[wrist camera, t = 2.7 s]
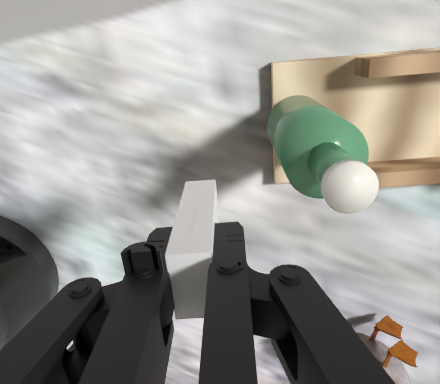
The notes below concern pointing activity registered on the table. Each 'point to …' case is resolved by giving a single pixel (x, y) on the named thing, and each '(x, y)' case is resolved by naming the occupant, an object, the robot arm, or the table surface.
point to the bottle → (322, 154)
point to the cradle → (376, 107)
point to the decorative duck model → (391, 351)
